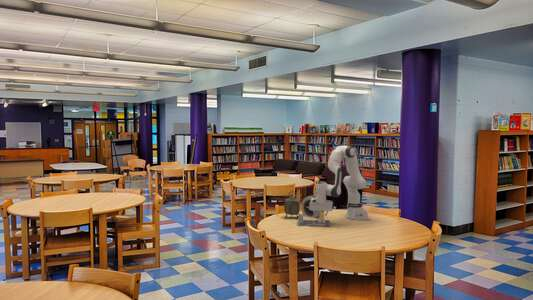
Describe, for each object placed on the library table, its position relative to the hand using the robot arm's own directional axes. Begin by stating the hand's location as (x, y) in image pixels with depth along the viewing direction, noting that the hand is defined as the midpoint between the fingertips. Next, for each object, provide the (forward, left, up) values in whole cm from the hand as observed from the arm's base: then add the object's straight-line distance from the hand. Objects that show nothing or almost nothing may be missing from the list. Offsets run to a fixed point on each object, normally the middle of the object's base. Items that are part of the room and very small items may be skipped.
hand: (320, 215), depth 337 cm
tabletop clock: (+25, -20, -8) cm, 33 cm away
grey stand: (+5, +2, -6) cm, 8 cm away
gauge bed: (+5, 0, -8) cm, 9 cm away
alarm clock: (+6, -30, -8) cm, 32 cm away
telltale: (+6, +6, -6) cm, 11 cm away
